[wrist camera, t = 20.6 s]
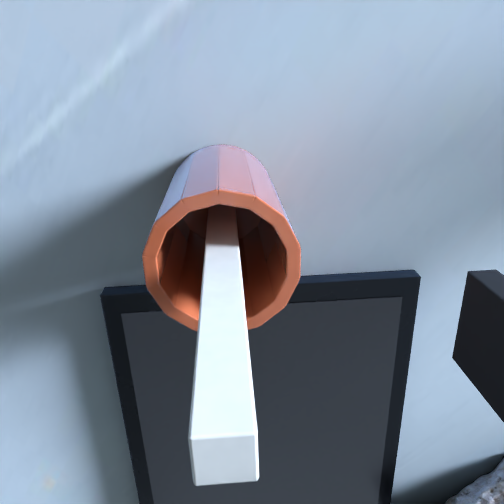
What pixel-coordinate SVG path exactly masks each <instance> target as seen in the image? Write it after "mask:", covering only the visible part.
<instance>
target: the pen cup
mask: <svg viewBox="0 0 504 504" xmlns="http://www.w3.org/2000/svg"><path fill="white" fill-rule="evenodd" d="M218 204H221V205H226V206H232V207H235V211H236V221H237V231H238V241H239V251H240V261H241V271H242V281H243V291H244V301H245V311H246V321H247V330H249V329H253V328H257V327H259V326H261V325H262V324H264V323H265V322H266V321H268V320H269V319H270V318H272V317H273V316H274V315H276V314H277V313H278V312H280V311H281V310H282V309H284V307H285V306H286V305H287V303H288V301H289V299H290V297H291V295H292V294H293V292H294V290H295V288H296V286H297V284H298V282H299V280H300V271H301V247H300V244H299V241H298V239H297V237H296V235H295V232H294V230H293V228H292V225H291V223H290V221H289V219H288V216H287V214H286V212H285V209H284V207H283V205H282V203H281V200H280V198H279V196H278V193H277V191H276V189H275V187H274V185H273V183H272V181H271V179H270V177H269V174H268V172H267V171H266V169H265V167H264V166H263V165H262V163H261V162H260V161H259V160H258V159H257V158H256V157H255V156H253V155H252V154H251V153H249V152H247V151H246V150H243V149H241V148H239V147H235V146H231V145H212V146H208V147H204V148H202V149H199V150H197V151H196V152H194V153H192V154H191V155H190V156H188V157H187V158H186V159H185V160H184V161H183V162H182V163H181V165H180V166H179V167H178V169H177V170H176V172H175V174H174V176H173V179H172V181H171V183H170V186H169V188H168V190H167V193H166V195H165V198H164V200H163V202H162V205H161V207H160V209H159V212H158V214H157V216H156V219H155V221H154V223H153V226H152V229H151V231H150V234H149V237H148V239H147V242H146V244H145V247H144V250H143V252H142V262H143V269H144V276H145V283H146V287H147V289H148V291H149V292H150V294H151V295H152V296H153V298H154V299H155V301H156V302H157V304H158V305H159V306H160V308H161V309H162V311H163V312H164V313H165V314H166V315H167V316H169V317H171V318H172V319H174V320H176V321H178V322H179V323H181V324H183V325H184V326H186V327H188V328H190V329H191V330H195V331H198V320H199V309H200V297H201V286H202V274H203V263H204V252H205V240H206V229H207V218H208V207H211V206H214V205H218Z"/></svg>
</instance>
